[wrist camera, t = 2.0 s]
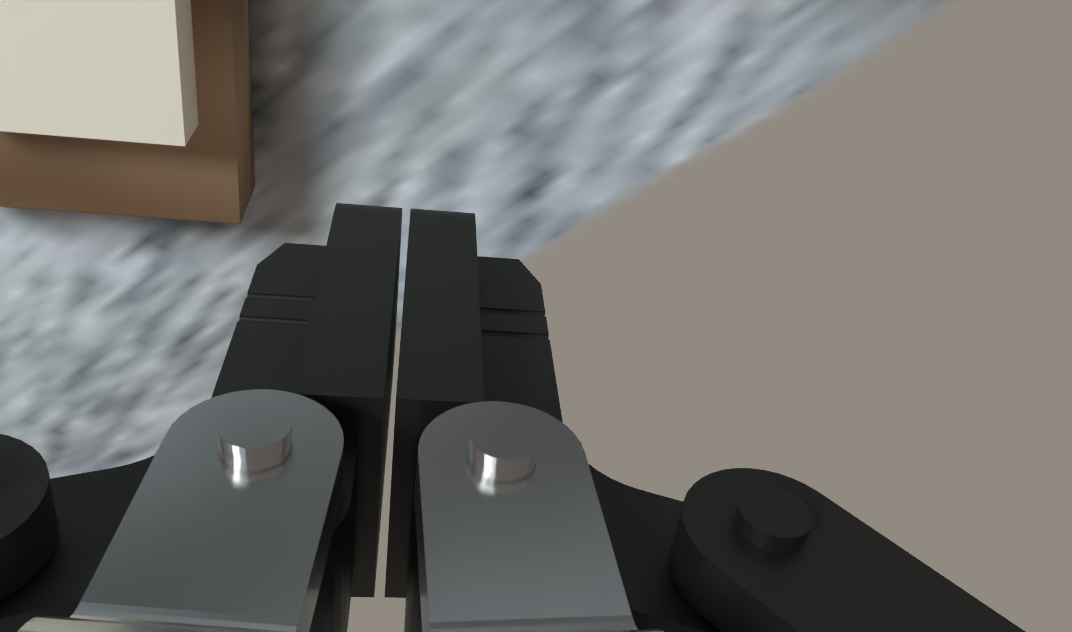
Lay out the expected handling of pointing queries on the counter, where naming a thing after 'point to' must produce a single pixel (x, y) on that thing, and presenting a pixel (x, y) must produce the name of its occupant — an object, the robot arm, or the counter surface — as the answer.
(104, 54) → the cream flat block
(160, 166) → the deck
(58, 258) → the counter surface
